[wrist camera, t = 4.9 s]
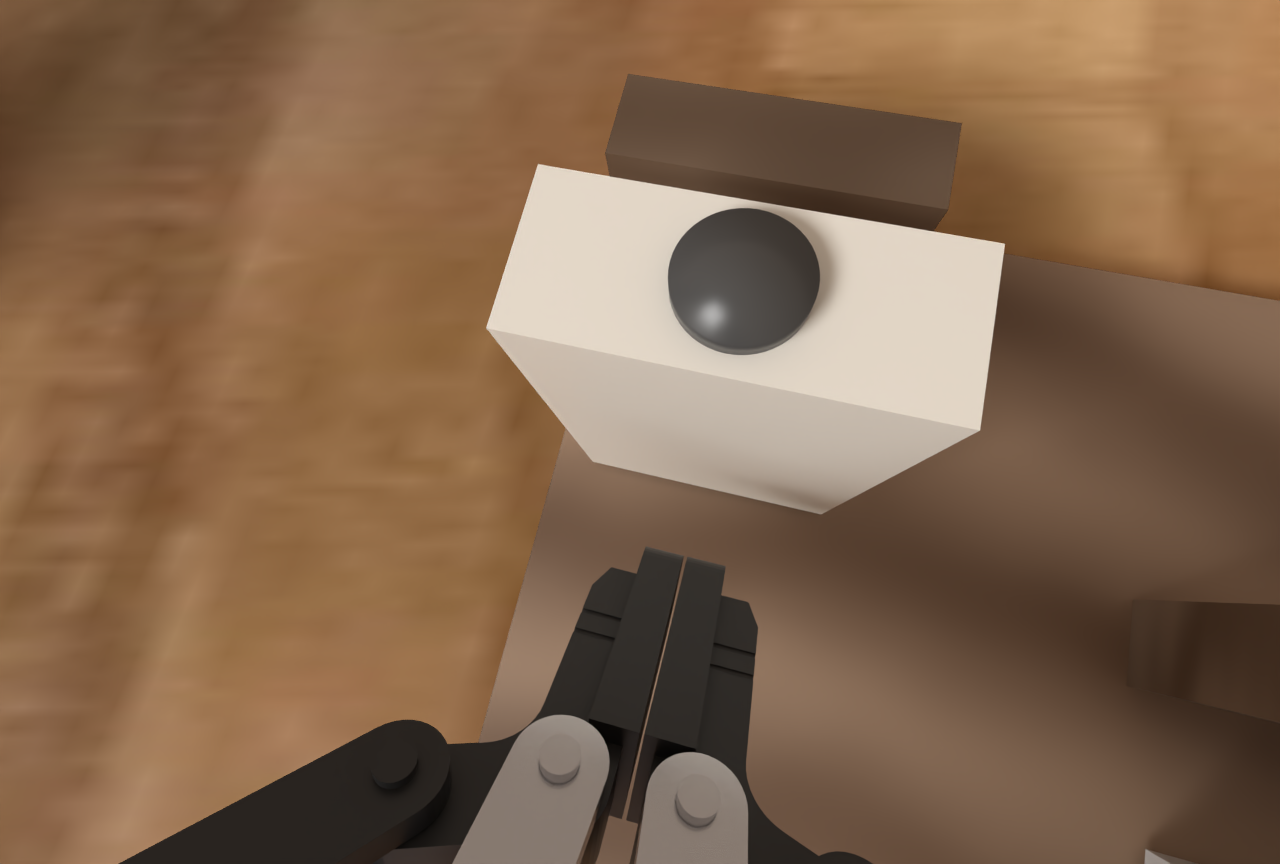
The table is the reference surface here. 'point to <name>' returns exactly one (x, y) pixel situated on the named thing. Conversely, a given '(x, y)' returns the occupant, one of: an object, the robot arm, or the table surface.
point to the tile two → (1162, 858)
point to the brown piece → (972, 549)
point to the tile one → (745, 336)
